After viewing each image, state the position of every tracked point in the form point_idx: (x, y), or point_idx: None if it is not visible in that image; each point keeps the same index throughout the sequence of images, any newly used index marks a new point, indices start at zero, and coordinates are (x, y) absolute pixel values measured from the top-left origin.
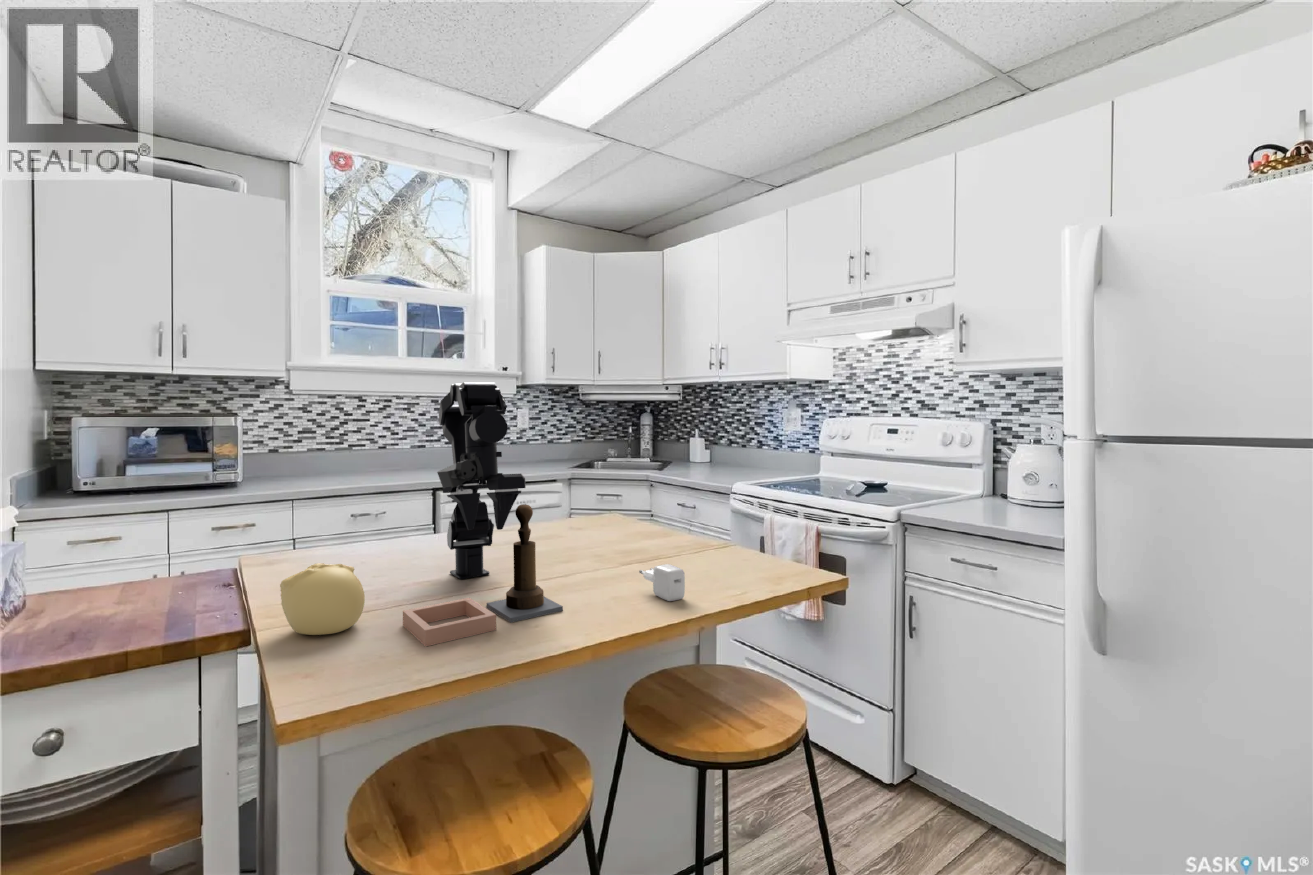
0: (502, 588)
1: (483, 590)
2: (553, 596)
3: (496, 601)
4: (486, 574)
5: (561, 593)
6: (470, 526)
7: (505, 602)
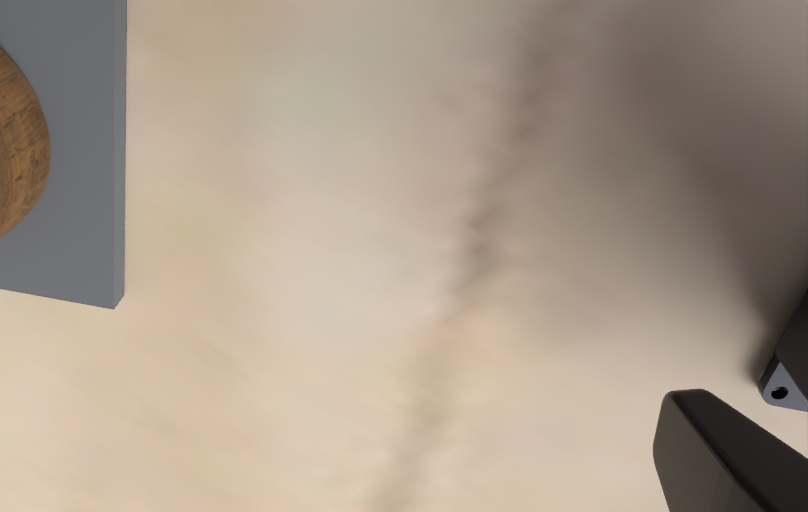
0: (436, 274)
1: (501, 172)
2: (73, 356)
3: (99, 28)
4: (764, 374)
5: (97, 410)
6: (681, 453)
7: (40, 59)
